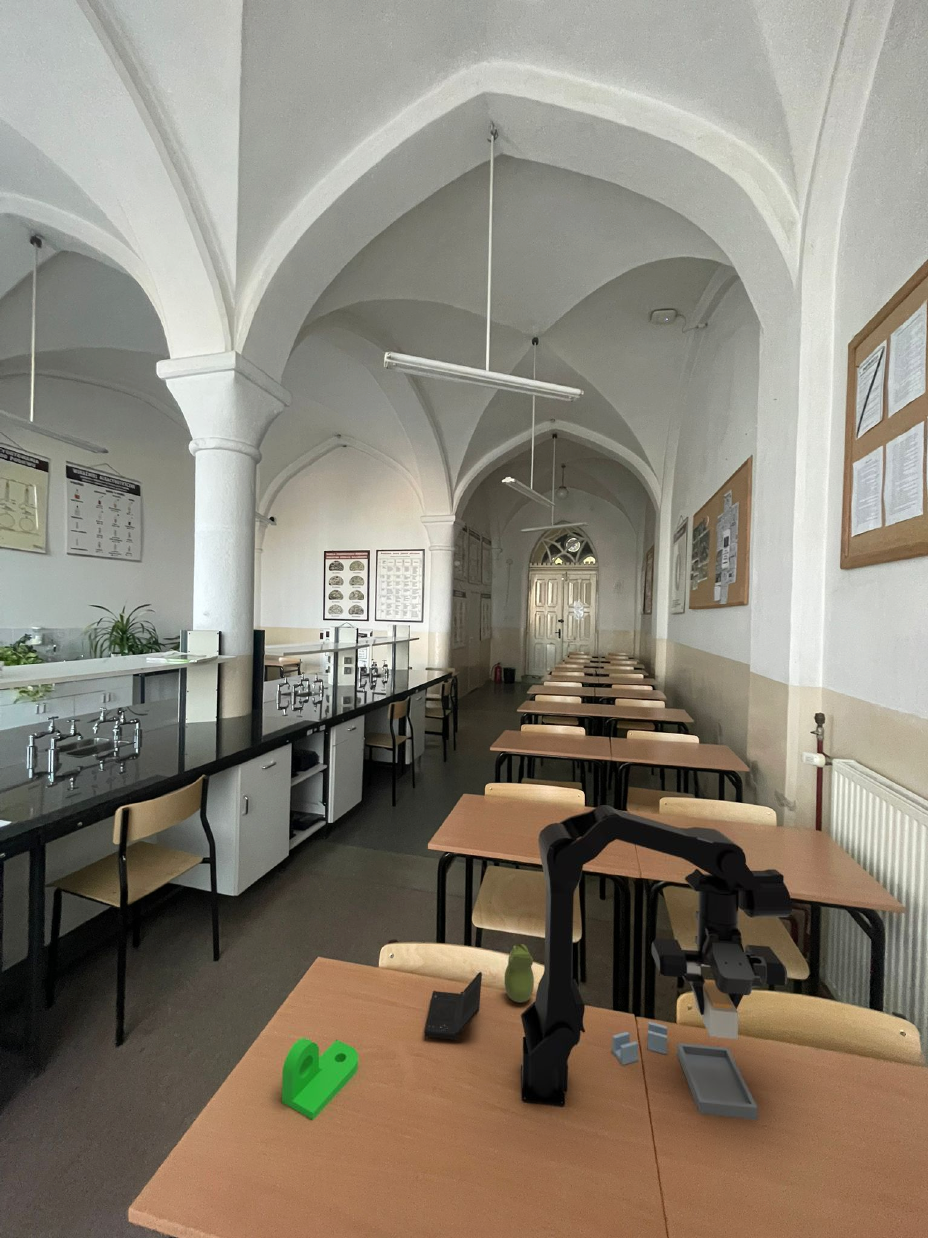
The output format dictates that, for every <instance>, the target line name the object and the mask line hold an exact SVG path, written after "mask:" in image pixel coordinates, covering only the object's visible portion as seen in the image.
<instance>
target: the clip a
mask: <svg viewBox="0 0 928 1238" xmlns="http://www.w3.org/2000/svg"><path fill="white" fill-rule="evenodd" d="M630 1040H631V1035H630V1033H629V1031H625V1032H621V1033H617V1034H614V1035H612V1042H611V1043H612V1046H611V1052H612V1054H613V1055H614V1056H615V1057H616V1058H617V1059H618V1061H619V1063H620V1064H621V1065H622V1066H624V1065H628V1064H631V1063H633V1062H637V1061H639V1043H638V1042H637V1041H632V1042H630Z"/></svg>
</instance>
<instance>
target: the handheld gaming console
mask: <svg viewBox="0 0 928 1238" xmlns="http://www.w3.org/2000/svg"><path fill="white" fill-rule="evenodd" d="M482 977H483V972H482V971H479V972H478V973H477V974H476V976H475V977H474V978H473V980H471V982H470V983H469V984H468V985H467V987H466V988H464V990H463V991H461V992H460V993H458V992H447V991H440V990H439V991H437V990H433V991H432V994H431V998H430V999H431V1000H430V1003H429V1008H428V1013H427V1017H426V1021H425V1024H424V1025H425V1026H424V1032H423V1034H424V1035H423V1036H424V1037H428V1038H429V1037H430V1038H438V1039H447V1040H455V1041H459V1038H460V1033H462V1031H463V1030H465V1028H466V1027H467V1025H468V1024H469V1023H470V1022H471V1021H472V1019H474V1017H475V1016H476V1015H477V1013H478V1012H479V1011H480V1003H481V1002H480V1001H481V993H482V992H481V991H482Z"/></svg>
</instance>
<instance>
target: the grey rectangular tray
mask: <svg viewBox="0 0 928 1238" xmlns="http://www.w3.org/2000/svg"><path fill="white" fill-rule="evenodd" d="M676 1048H677V1049H676V1050H677V1051H676V1054H677V1057H678V1059H679V1062H680V1065H681V1068H682V1071H683V1074H684V1076H685V1079H686V1081H687V1083H688V1087H689V1090H690V1092H691V1096H692V1098H693V1100H694V1103H695V1106H696V1109H697V1112H698V1113H699V1114H701V1115H708V1116H717V1117H727V1118H735V1119H742V1120H744V1119H745V1120H750V1121H751V1120H753V1121H758V1116H759V1108H758V1106H757V1103H756V1101H755V1099H754V1098H753V1096H752V1093H751V1091H750V1089H749V1087H748V1085H747V1083H746V1080H745V1079H744V1077H743V1074H742V1073H741V1070H740V1069H739V1067H738V1064H737V1063H736V1060H735V1059H734V1057H733V1055H732V1052H731V1050H730V1049H729V1047H723V1046H712V1045H704V1044H692V1043H682V1042H680V1043H679V1042H677V1045H676Z"/></svg>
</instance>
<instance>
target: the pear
mask: <svg viewBox="0 0 928 1238" xmlns="http://www.w3.org/2000/svg"><path fill="white" fill-rule="evenodd" d="M533 964H534V959H533V957H532V955H531V954H530V952H529V950H528V947H527V946H526V944H523V943H522V944H521V943H518V944H517V945H513V946H512V949H511V950H510V952H509V955H508V959H507V966H506V969H505V971H504V988H505V991H506V994H507V996H508V997H509V998H510V1000H512V1001H513V1002H515V1003H525V1002H527V1001H529V1000H530V999H531V997H532V995H533V994H534V993H533V992H534V986H535V977H534V971H533V968H532V966H533Z"/></svg>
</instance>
